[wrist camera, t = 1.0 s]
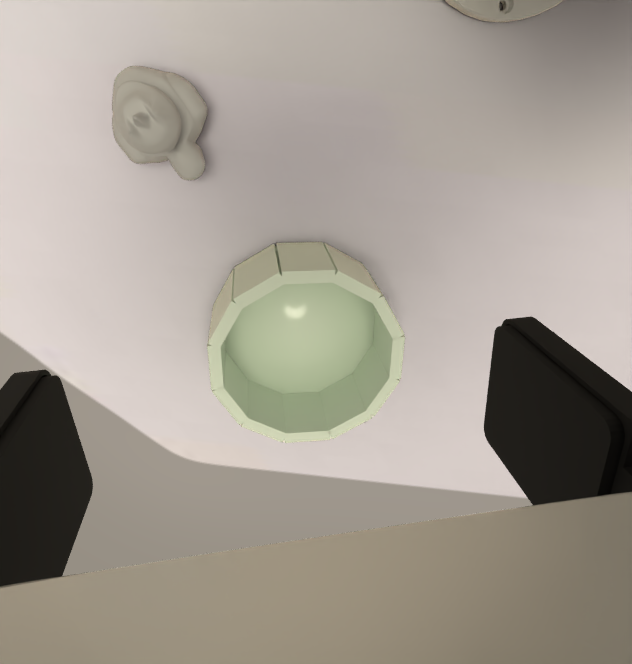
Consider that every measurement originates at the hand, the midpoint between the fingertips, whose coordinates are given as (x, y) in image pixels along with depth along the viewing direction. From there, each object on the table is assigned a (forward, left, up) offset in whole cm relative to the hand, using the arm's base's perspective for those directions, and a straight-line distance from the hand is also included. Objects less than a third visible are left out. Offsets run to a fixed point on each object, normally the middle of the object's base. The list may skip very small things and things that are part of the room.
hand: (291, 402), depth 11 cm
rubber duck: (-4, -5, -25) cm, 26 cm away
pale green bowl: (+10, +3, -25) cm, 27 cm away
